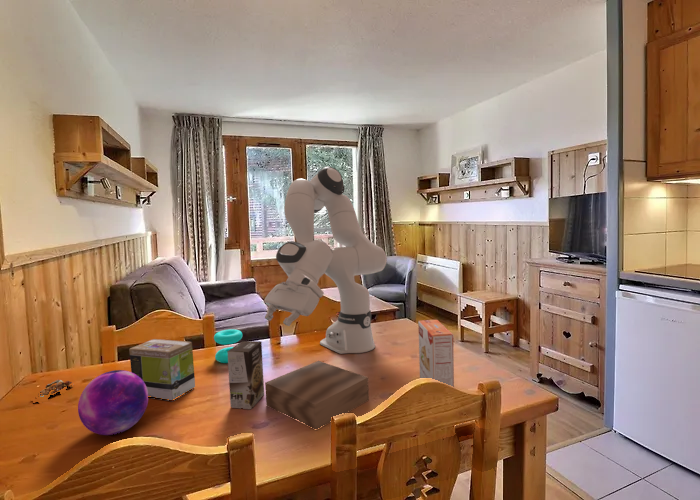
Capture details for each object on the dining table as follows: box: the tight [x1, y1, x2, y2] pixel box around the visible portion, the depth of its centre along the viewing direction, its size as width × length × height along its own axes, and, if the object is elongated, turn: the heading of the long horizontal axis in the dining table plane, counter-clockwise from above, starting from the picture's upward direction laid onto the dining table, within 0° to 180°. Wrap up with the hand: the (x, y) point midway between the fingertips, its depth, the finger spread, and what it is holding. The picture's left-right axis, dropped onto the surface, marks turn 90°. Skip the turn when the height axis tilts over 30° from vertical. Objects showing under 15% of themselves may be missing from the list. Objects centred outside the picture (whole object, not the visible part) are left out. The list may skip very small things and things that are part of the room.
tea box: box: [128, 338, 196, 401], centre depth 121 cm, size 15×10×15 cm, turn 71°
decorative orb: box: [77, 369, 149, 436], centre depth 100 cm, size 15×15×15 cm
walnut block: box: [264, 360, 370, 430], centre depth 112 cm, size 20×20×7 cm
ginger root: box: [39, 379, 73, 397], centre depth 123 cm, size 7×12×4 cm, turn 2°
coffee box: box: [227, 340, 265, 410], centre depth 113 cm, size 9×6×16 cm
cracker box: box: [417, 319, 455, 388], centre depth 110 cm, size 14×6×21 cm, turn 5°
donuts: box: [213, 328, 243, 364], centre depth 147 cm, size 10×10×10 cm
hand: (276, 321), depth 121 cm, fingers open, 8 cm apart
